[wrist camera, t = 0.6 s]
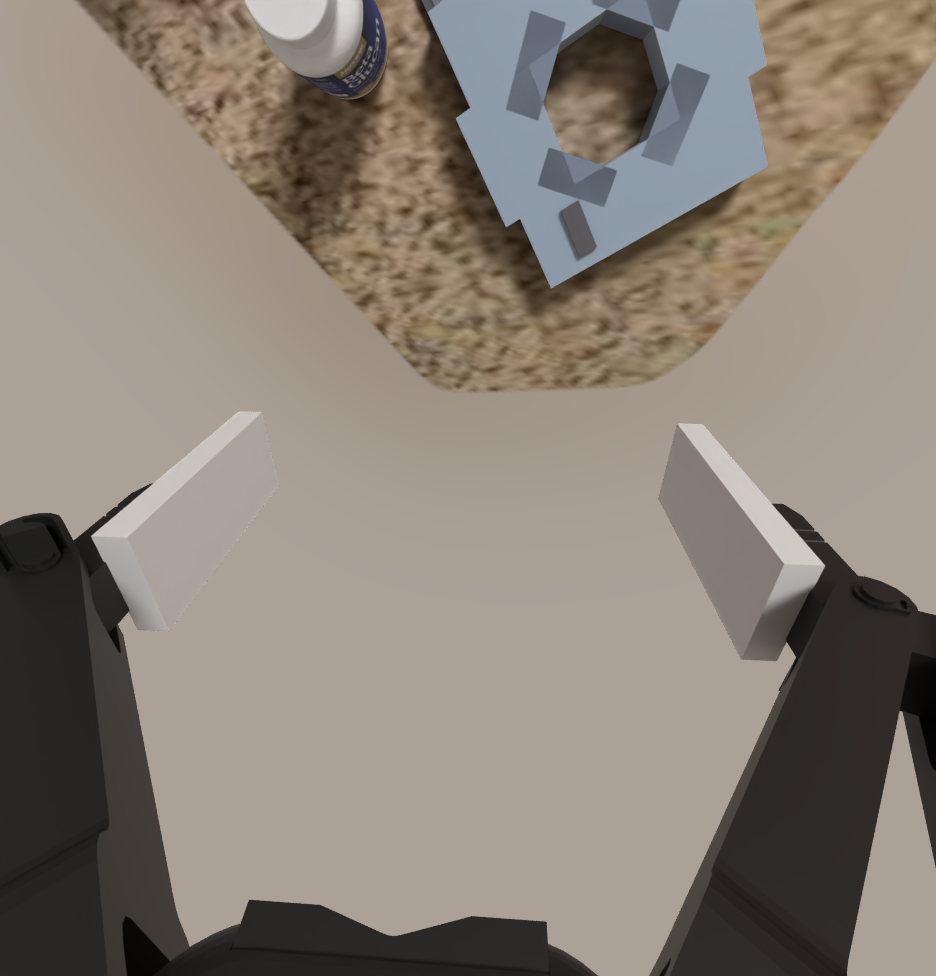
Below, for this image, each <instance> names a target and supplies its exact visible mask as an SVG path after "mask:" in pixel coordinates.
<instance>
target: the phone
mask: <svg viewBox="0 0 936 976" xmlns="http://www.w3.org/2000/svg"><path fill="white" fill-rule="evenodd" d="M441 1H442V0H422V2H423V4H424V7H425V9H426V11H427V13H428V12H429V11H430V10H431V9H432V8H434V7H435V6H436V5H437V4H439V3H440V2H441ZM428 16H429V14H428ZM429 18H430V17H429ZM430 20H431V19H430ZM432 25H433V24H432Z"/></svg>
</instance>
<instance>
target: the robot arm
mask: <svg viewBox="0 0 936 976" xmlns="http://www.w3.org/2000/svg"><path fill="white" fill-rule="evenodd" d="M278 486H279V483H278V479H277V474H276V470H275V466H274V462H273V457H272V453H271V449H270V444H269V440H268V436H267V432H266V427H265V423H264V419H263V414H262V412H241V411H239V412H238V413H236V414H235V415H234V416H233V417H232V418H230V419H229V420H228V421H227V422H226V423H225V424H223V425H222V426H221V427H220V428H219V429H217V430H216V431H215V432H214V433H213V434H211V435H210V436H209V437H208V438H207V439H206V440H204V441H203V442H202V443H201V444H200V445H198V446H197V447H196V448H195V449H194V450H193V451H191V452H190V453H189V454H188V455H187V456H185V457H184V458H183V459H182V460H181V461H180V462H178V463H177V464H176V465H175V466H174V467H172V468H171V469H170V470H169V471H168V472H167V473H165V474H164V475H163V476H162V477H161V478H159V479H158V480H157V481H156V482H155V483H153V484H149V485H147V486H145V487H143V488H141V489H139V490H137V491H135V492H133V493H131V494H130V495H129V496H128V497H126V498H125V499H124V500H123V501H122V502H120V503H119V504H118V507H114V508H113V509H112V510H111V511H109V512H108V513H107V514H106V517H105V516H103V517H102V518H101V519H100V520H98V521H97V522H96V523H95V524H93V525H92V526H91V527H90V528H89V529H88V530H86V531H85V532H84V533H82V534H81V535H80V536H79V537H78V538H76V539H75V540H74V541H73V539H72V537H71V535H70V533H69V531H68V530H67V528H66V526H65V524H64V522H63V520H62V519H61V517H60V516H59V515H56V514H52V513H38V514H33V515H28V516H23V517H20V518H17V519H14V520H11V521H8V522H6V523H4V524H2V525H0V976H598V975H596V974H595V973H594V972H593V971H591V970H590V969H589V968H588V967H587V966H585V965H584V964H583V963H582V962H580V961H578V960H577V959H575V958H574V957H572V956H571V955H569V954H567V953H566V952H564V951H562V950H561V949H558V948H556V947H554V946H551V945H549V944H548V941H547V925H546V924H547V923H546V922H543V921H529V920H515V919H501V918H488V917H475V916H471V917H467V918H464V919H460V920H456V921H452V922H448V923H445V924H441V925H437V926H433V927H430V928H426V929H422V930H419V931H415V932H411V933H407V934H403V935H399V936H389V935H386V934H383V933H381V932H379V931H376V930H374V929H372V928H370V927H368V926H365V925H363V924H361V923H359V922H356V921H354V920H352V919H350V918H347V917H346V916H343V915H341V914H339V913H337V912H335V911H332V910H330V909H328V908H326V907H324V906H321V905H312V904H300V903H285V902H272V901H259V900H249V902H248V904H247V907H246V910H245V913H244V916H243V918H242V921H241V924H238V925H235V926H231V927H229V928H227V929H224V930H222V931H219V932H217V933H214V934H212V935H210V936H209V937H207V938H205V939H203V940H201V941H200V942H198V943H196V944H194V945H192V946H191V947H189V944H188V941H187V938H186V936H185V933H184V931H183V928H182V926H181V924H180V921H179V918H178V915H177V911H176V907H175V903H174V898H173V893H172V888H171V883H170V878H169V872H168V867H167V862H166V857H165V852H164V846H163V841H162V835H161V831H160V825H159V820H158V815H157V809H156V804H155V799H154V794H153V788H152V783H151V778H150V773H149V767H148V762H147V757H146V752H145V747H144V741H143V736H142V731H141V726H140V720H139V715H138V710H137V705H136V700H135V694H134V689H133V684H132V679H131V674H130V668H129V663H128V658H127V653H126V648H125V642H124V637H123V634H122V632H121V630H120V628H119V626H118V623H119V622H120V621H121V620H122V619H123V617H124V616H125V615H126V614H127V613H128V612H129V613H130V615H131V617H132V619H133V621H134V623H135V625H136V627H137V629H138V630H150V631H170V630H171V628H172V627H173V626H174V624H175V623H176V622H177V621H178V619H179V618H180V617H181V615H182V614H183V613H184V611H185V610H186V609H187V607H188V606H189V605H190V603H191V602H192V601H193V599H194V598H195V597H196V595H197V594H198V593H199V591H200V590H201V589H202V587H203V586H204V585H205V583H206V582H207V581H208V579H209V578H210V577H211V575H212V574H213V573H214V571H215V570H216V569H217V567H218V566H219V565H220V563H221V562H222V561H223V559H224V558H225V557H226V555H227V554H228V553H229V551H230V550H231V549H232V547H233V546H234V545H235V543H236V542H237V540H238V539H239V538H240V537H241V535H242V534H243V533H244V531H245V530H246V529H247V527H248V526H249V525H250V523H251V522H252V521H253V519H254V518H255V516H256V515H257V514H258V513H259V511H260V510H261V509H262V507H263V506H264V505H265V503H266V502H267V501H268V499H269V498H270V496H271V495H272V494H273V493H274V491H275V490H276V489H277V487H278ZM659 500H660V502H661V504H662V506H663V508H664V510H665V512H666V514H667V516H668V518H669V520H670V522H671V524H672V526H673V528H674V530H675V532H676V533H677V535H678V537H679V539H680V541H681V543H682V545H683V547H684V549H685V551H686V553H687V555H688V557H689V559H690V561H691V562H692V565H693V567H694V568H695V570H696V572H697V574H698V576H699V578H700V580H701V582H702V584H703V586H704V588H705V590H706V592H707V594H708V596H709V598H710V599H711V601H712V603H713V605H714V607H715V609H716V611H717V613H718V615H719V617H720V619H721V621H722V623H723V625H724V627H725V628H726V631H727V632H728V634H729V636H730V638H731V640H732V642H733V644H734V646H735V648H736V650H737V652H738V654H739V656H740V658H741V659H743V660H766V661H777V659H778V657H779V656H780V654H781V652H782V650H783V648H784V646H785V644H786V642H787V643H788V645H789V646H790V648H791V649H792V651H793V652H794V654H795V656H796V659H795V660H794V663H793V665H792V666H791V668H790V670H789V672H788V674H787V675H786V677H785V679H784V681H783V683H782V685H781V687H780V688H779V691H780V692H779V694H778V697H777V699H776V701H775V703H774V705H773V708H772V710H771V712H770V714H769V717H768V719H767V721H766V723H765V725H764V728H763V730H762V732H761V734H760V736H759V738H758V741H757V743H756V745H755V747H754V750H753V752H752V754H751V756H750V758H749V760H748V763H747V765H746V767H745V769H744V771H743V774H742V776H741V778H740V780H739V782H738V785H737V787H736V789H735V792H734V794H733V796H732V798H731V800H730V802H729V805H728V807H727V809H726V811H725V813H724V816H723V818H722V820H721V822H720V825H719V827H718V829H717V831H716V833H715V835H714V838H713V840H712V842H711V845H710V846H709V849H708V851H707V853H706V855H705V857H704V860H703V862H702V864H701V866H700V868H699V871H698V873H697V875H696V877H695V880H694V882H693V884H692V886H691V888H690V890H689V893H688V895H687V897H686V899H685V902H684V904H683V906H682V908H681V910H680V913H679V915H678V917H677V919H676V921H675V923H674V926H673V928H672V930H671V932H670V934H669V937H668V939H667V941H666V943H665V945H664V948H663V950H662V952H661V954H660V956H659V958H658V960H657V962H656V964H655V966H654V968H653V970H652V972H651V973H650V975H649V976H847V966H848V958H849V954H850V949H851V944H852V939H853V934H854V930H855V925H856V920H857V915H858V909H859V905H860V901H861V896H862V890H863V886H864V881H865V876H866V871H867V866H868V861H869V857H870V851H871V847H872V842H873V837H874V832H875V827H876V822H877V818H878V812H879V808H880V803H881V798H882V793H883V789H884V783H885V778H886V774H887V769H888V764H889V759H890V754H891V750H892V744H893V740H894V735H895V730H896V725H897V720H898V715H899V711H903V716H904V720H905V725H906V730H907V735H908V739H909V744H910V748H911V753H912V758H913V763H914V767H915V772H916V777H917V782H918V786H919V791H920V796H921V800H922V804H923V810H924V814H925V819H926V824H927V828H928V833H929V837H930V843H931V847H932V852H933V857H934V861H935V866H936V615H933V614H928V613H924V612H920V611H918V609H917V607H916V605H915V604H914V603H913V602H912V601H911V600H910V598H909V597H907V596H906V595H904V594H903V593H902V592H900V591H899V590H898V589H896V588H894V587H892V586H890V585H888V584H886V583H884V582H881V581H878V580H875V579H871V578H868V577H863V576H862V577H861V576H858V575H857V574H856V573H855V572H854V571H853V570H852V569H851V568H850V567H849V566H848V565H847V564H846V562H845V561H844V560H843V559H842V558H841V557H840V556H839V555H838V554H837V553H836V552H835V551H834V550H833V549H832V547H831V546H830V545H829V544H828V543H825V542H824V539H823V538H822V537H821V536H820V534H819V533H818V532H814V528H813V527H812V526H811V525H810V524H809V523H808V522H807V521H806V520H805V518H804V517H803V516H802V515H800V514H798V513H797V512H795V511H794V510H792V509H790V508H789V507H787V506H785V505H784V504H771V503H770V501H769V500H768V499H767V498H766V497H765V496H764V495H763V494H762V492H761V491H760V490H759V489H758V488H757V487H756V485H755V484H754V483H753V482H752V481H751V480H750V478H749V477H748V476H747V475H746V474H745V473H744V472H743V470H742V469H741V468H740V467H739V466H738V465H737V464H736V462H735V461H734V460H733V459H732V458H731V457H730V456H729V454H728V453H727V452H726V451H725V450H724V449H723V447H722V446H721V445H720V444H719V443H718V442H717V441H716V439H715V438H714V437H713V436H712V435H711V434H710V432H709V431H708V430H707V429H706V428H705V427H704V425H702V424H677V427H676V431H675V435H674V439H673V443H672V446H671V450H670V454H669V458H668V462H667V467H666V470H665V475H664V479H663V483H662V486H661V490H660V494H659Z"/></svg>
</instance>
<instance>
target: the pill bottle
mask: <svg viewBox="0 0 936 976" xmlns="http://www.w3.org/2000/svg"><path fill="white" fill-rule="evenodd" d="M244 2H245V4H246V7H247V9H248V11H249V12H250V14H251V16H252V17H253V19H254V20H255V22H256V25H257V27H258V30H259V32H260V34H261V36H262V38H263V40H264V41H265V43H266V45H267V46H268V48H269V49H270V50H271V52H272V53H273V54H274V55H275V56H276V57H277V58H278V59H279V60H280V61H281V62H282V63H283V64H284V65H285V66H286V67H288V68H289V69H291V70H292V71H294V72H295V73H297V74H298V75H300V76H302V77H303V78H305V79H306V80H308V81H309V82H311V83H312V84H314V85H315V86H317V87H318V88H320V89H322V90H323V91H325V92H326V93H328V94H330V95H332V96H334V97H337V98H341V99H356V98H360V97H362V96H364V95H366V94H368V93H369V92H370V91H371V90H373V88H374V87H375V86H376V85H377V84H378V82H379V80H380V79H381V77H382V75H383V72H384V69H385V66H386V62H387V55H388V38H387V32H386V27H385V24H384V20H383V18H382V15H381V13H380V11H379V9H378V7H377V5H376V3H375V2H374V0H244Z"/></svg>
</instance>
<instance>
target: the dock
mask: <svg viewBox="0 0 936 976" xmlns="http://www.w3.org/2000/svg"><path fill="white" fill-rule="evenodd" d="M428 14H429V17H430V19H431V22H432V24H433V27H434V29H435V31H436V33H437V35H438V38H439V40H440V42H441V44H442V47H443V49H444V51H445V53H446V56H447V58H448V60H449V62H450V65H451V67H452V69H453V71H454V73H455V76H456V78H457V80H458V82H459V85H460V87H461V89H462V91H463V94H464V96H465V98H466V100H467V102H468V105H469V107H470V108H469V109H468V110H467V111H465V112H464V113H462V114H461V115H460V116H458V117H457V118H456V120H457V122H458V125H459V127H460V129H461V131H462V133H463V135H464V138H465V140H466V142H467V144H468V146H469V148H470V150H471V153H472V155H473V157H474V159H475V161H476V163H477V166H478V168H479V170H480V172H481V174H482V176H483V179H484V181H485V183H486V185H487V187H488V189H489V192H490V194H491V196H492V198H493V200H494V202H495V205H496V207H497V209H498V211H499V213H500V215H501V217H502V220H503V222H504V224H505V226H506V227H508V226H509V225H511V224H512V223H514V222H516V221H517V220H519V219H520V221H521V223H522V225H523V228H524V230H525V232H526V234H527V236H528V239H529V241H530V243H531V245H532V248H533V250H534V252H535V254H536V257H537V259H538V261H539V263H540V266H541V268H542V270H543V272H544V274H545V277H546V279H547V281H548V283H549V285H550V287H551V288H553V287H554V286H556V285H558V284H560V283H562V282H563V281H565V280H567V279H569V278H570V277H572V276H574V275H576V274H578V273H579V272H581V271H583V270H585V269H586V268H588V267H590V266H592V265H594V264H595V263H597V262H599V261H601V260H602V259H604V258H606V257H608V256H610V255H611V254H613V253H615V252H617V251H618V250H620V249H622V248H624V247H626V246H627V245H629V244H631V243H633V242H634V241H636V240H638V239H640V238H642V237H643V236H645V235H647V234H649V233H650V232H652V231H654V230H656V229H658V228H659V227H661V226H663V225H665V224H667V223H668V222H670V221H672V220H674V219H675V218H677V217H679V216H681V215H683V214H684V213H686V212H688V211H690V210H691V209H693V208H695V207H697V206H699V205H700V204H702V203H704V202H706V201H707V200H709V199H711V198H713V197H715V196H716V195H718V194H720V193H722V192H723V191H725V190H727V189H729V188H731V187H732V186H734V185H736V184H738V183H739V182H741V181H743V180H745V179H747V178H748V177H750V176H752V175H754V174H755V173H757V172H759V171H761V170H763V169H764V168H766V167H768V163H767V159H766V155H765V150H764V146H763V141H762V137H761V132H760V128H759V123H758V119H757V114H756V110H755V106H754V101H753V97H752V92H751V88H750V83H749V79H748V77H749V76H750V75H752V74H754V73H755V72H757V71H758V70H760V69H762V68H763V67H765V66H766V65H767V62H766V57H765V52H764V48H763V43H762V38H761V33H760V28H759V24H758V19H757V14H756V9H755V4H754V0H442V1H441V2H440V3H439V4H437V5H436V6H435V7H434V8H432V9H431V10H430V11H429V12H428ZM598 24H600V25H603V26H605V27H608V28H611V29H614V30H616V31H619V32H622V33H625V34H627V35H630V36H633V37H636V38H638V39H641V40H643V43H644V47H645V50H646V53H647V57H648V60H649V63H650V67H651V70H652V73H653V77H654V80H655V84H656V87H657V90H658V91H657V94H656V97H655V99H654V102H653V105H652V107H651V110H650V113H649V115H648V118H647V120H646V123H645V126H644V128H643V131H642V134H641V136H640V139H639V142H638V144H636V145H635V146H633V147H632V148H630V149H628V150H627V151H625V152H624V153H622V154H620V155H619V156H617V157H616V158H614V159H612V160H611V161H609V162H608V163H606V164H604V165H603V166H602V165H599V164H596V163H593V162H591V161H588V160H585V159H582V158H579V157H576V156H573V155H570V154H567V153H564V152H562V150H561V148H560V145H559V143H558V140H557V137H556V135H555V132H554V130H553V127H552V125H551V122H550V119H549V117H548V114H547V112H546V109H545V107H544V104H543V102H544V98H545V95H546V91H547V88H548V84H549V81H550V77H551V74H552V70H553V67H554V63H555V60H556V56H557V54H558V53H559V52H561V51H562V50H563V49H565V48H566V47H568V46H569V45H570V44H572V43H573V42H575V41H576V40H577V39H579V38H580V37H582V36H583V35H584V34H586V33H587V32H589V31H590V30H591V29H593V28H594V27H596V26H597V25H598Z"/></svg>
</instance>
